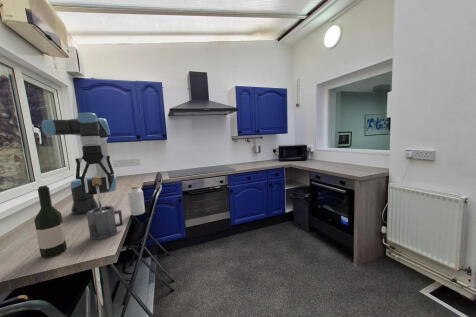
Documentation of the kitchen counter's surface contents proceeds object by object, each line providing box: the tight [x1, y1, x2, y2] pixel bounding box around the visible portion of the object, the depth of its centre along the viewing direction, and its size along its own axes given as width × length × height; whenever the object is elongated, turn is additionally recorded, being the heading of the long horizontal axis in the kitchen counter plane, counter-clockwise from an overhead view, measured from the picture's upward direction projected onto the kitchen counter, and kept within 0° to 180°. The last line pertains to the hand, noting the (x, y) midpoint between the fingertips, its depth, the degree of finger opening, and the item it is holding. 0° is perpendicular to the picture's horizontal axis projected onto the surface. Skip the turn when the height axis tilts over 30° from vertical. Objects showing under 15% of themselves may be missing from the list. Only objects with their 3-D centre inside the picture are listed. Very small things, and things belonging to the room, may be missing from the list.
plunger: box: [91, 176, 108, 214], centre depth 98 cm, size 7×7×19 cm
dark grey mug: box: [86, 205, 124, 241], centre depth 100 cm, size 12×14×13 cm
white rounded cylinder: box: [127, 185, 146, 216], centre depth 125 cm, size 8×8×18 cm
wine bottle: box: [33, 185, 68, 260], centre depth 84 cm, size 8×8×30 cm
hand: (97, 190), depth 97 cm, fingers open, 8 cm apart
